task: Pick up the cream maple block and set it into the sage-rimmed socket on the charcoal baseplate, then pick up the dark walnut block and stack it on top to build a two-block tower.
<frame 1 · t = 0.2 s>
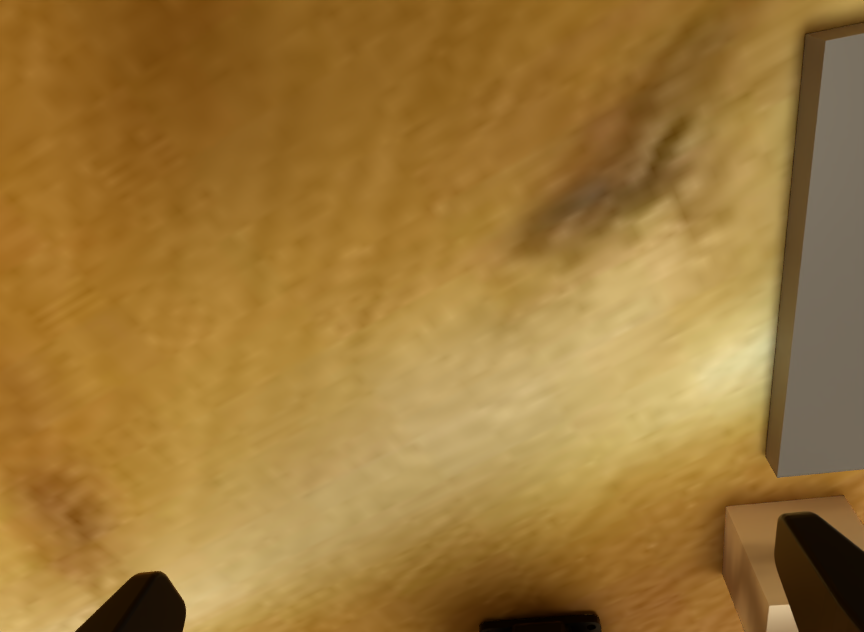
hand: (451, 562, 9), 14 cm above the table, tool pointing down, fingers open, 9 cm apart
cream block: (778, 535, 29), on the table
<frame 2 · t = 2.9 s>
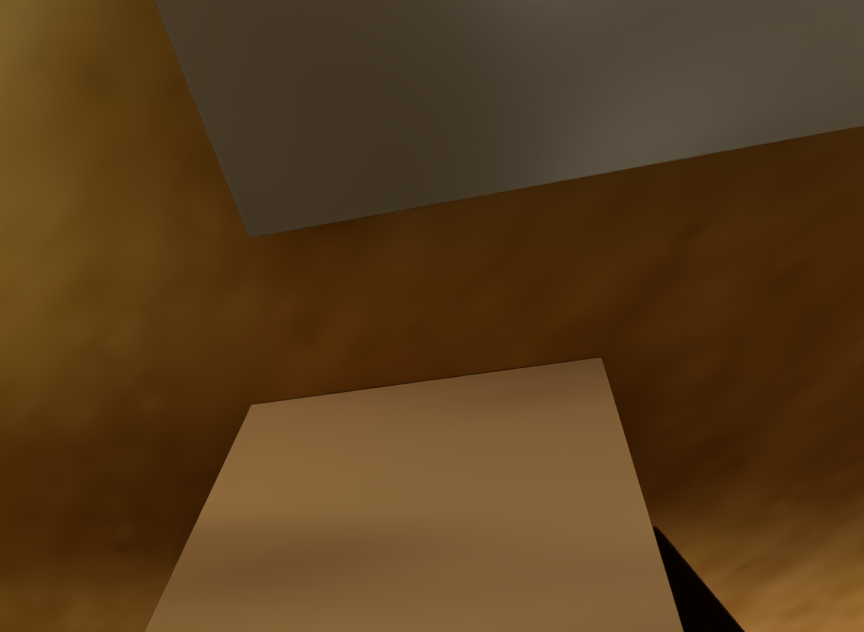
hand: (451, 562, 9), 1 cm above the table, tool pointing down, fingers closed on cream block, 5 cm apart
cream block: (453, 504, 10), on the table, touching gripper
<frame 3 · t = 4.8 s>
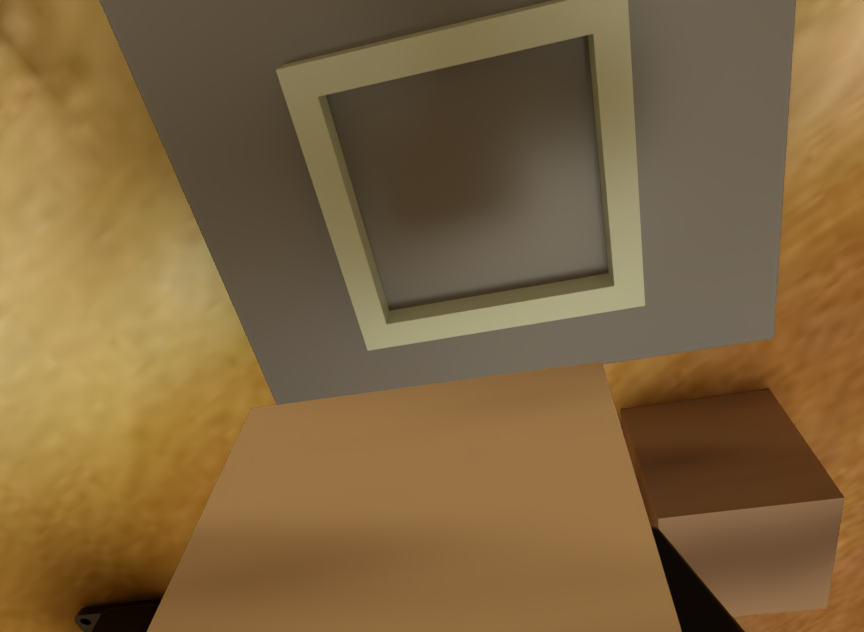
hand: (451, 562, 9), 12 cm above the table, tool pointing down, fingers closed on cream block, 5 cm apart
baseplate: (461, 103, 17), on the table
walnut block: (693, 450, 23), on the table
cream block: (453, 508, 10), point 11 cm above the table, touching gripper
when the fingers open (3 cm above the table, at t = 6.9 s): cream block stays where it is, resting on baseplate.
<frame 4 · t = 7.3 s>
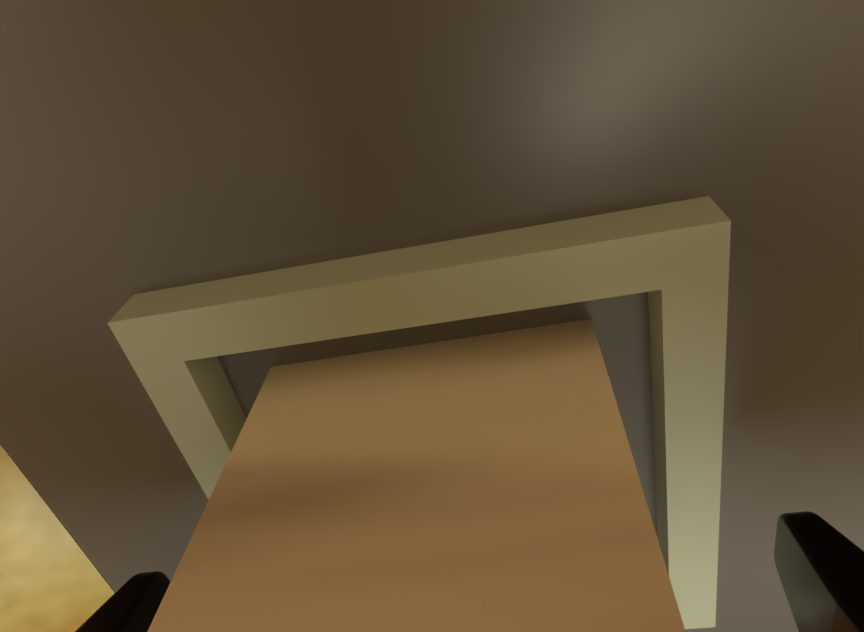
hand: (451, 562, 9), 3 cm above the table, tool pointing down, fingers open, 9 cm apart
baseplate: (435, 327, 11), on the table
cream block: (456, 461, 11), point 1 cm above the table, touching baseplate
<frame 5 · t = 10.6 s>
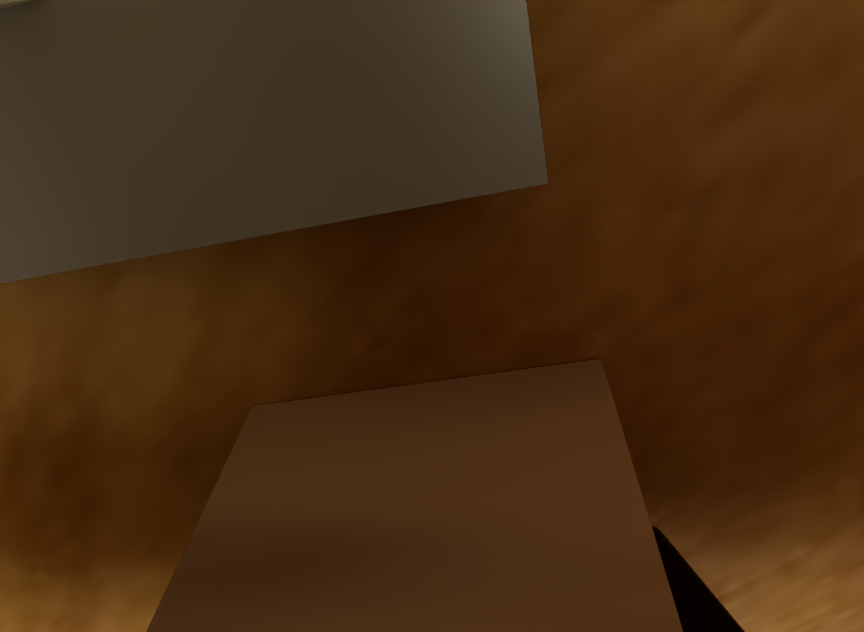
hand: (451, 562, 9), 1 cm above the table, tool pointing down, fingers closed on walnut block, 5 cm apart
walnut block: (453, 505, 10), on the table, touching gripper
when the fingers open (8 cm above the table, at t = 13.7 s): walnut block stays where it is, resting on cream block.
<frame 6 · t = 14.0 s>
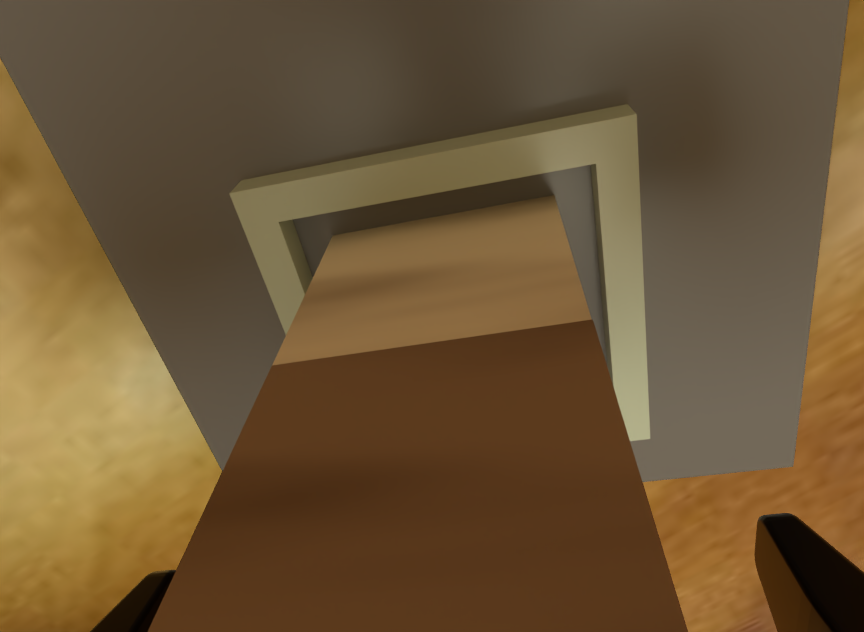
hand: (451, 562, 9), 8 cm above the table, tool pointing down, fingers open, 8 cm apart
baseplate: (446, 214, 15), on the table
walnut block: (456, 461, 11), point 6 cm above the table, touching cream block
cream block: (461, 311, 15), point 1 cm above the table, touching baseplate, walnut block
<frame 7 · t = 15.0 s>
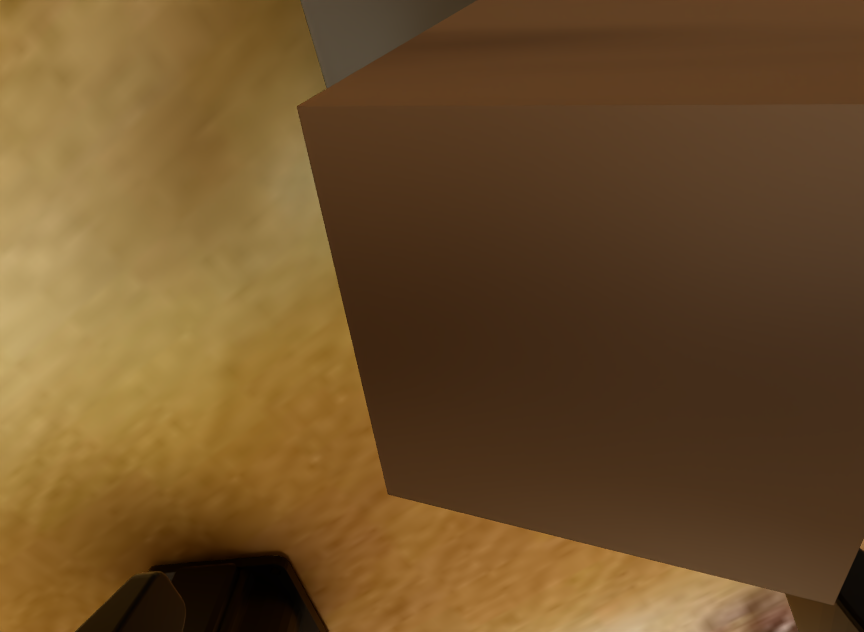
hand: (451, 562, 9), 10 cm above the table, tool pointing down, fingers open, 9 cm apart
walnut block: (646, 169, 9), point 7 cm above the table, tilted 18°, touching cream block
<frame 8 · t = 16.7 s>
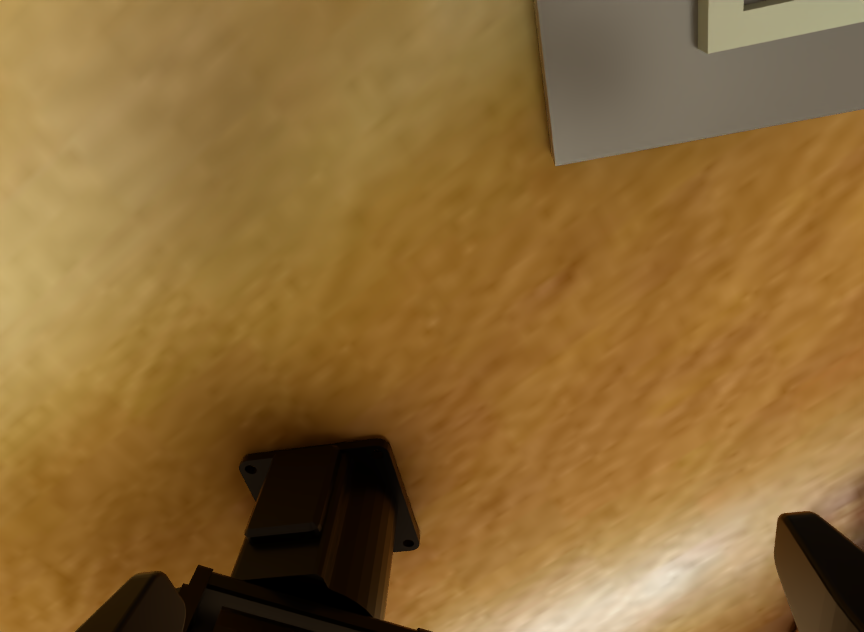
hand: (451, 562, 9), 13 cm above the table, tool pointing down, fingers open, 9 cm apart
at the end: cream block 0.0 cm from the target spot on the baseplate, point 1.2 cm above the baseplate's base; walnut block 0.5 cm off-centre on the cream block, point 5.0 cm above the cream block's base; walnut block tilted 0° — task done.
